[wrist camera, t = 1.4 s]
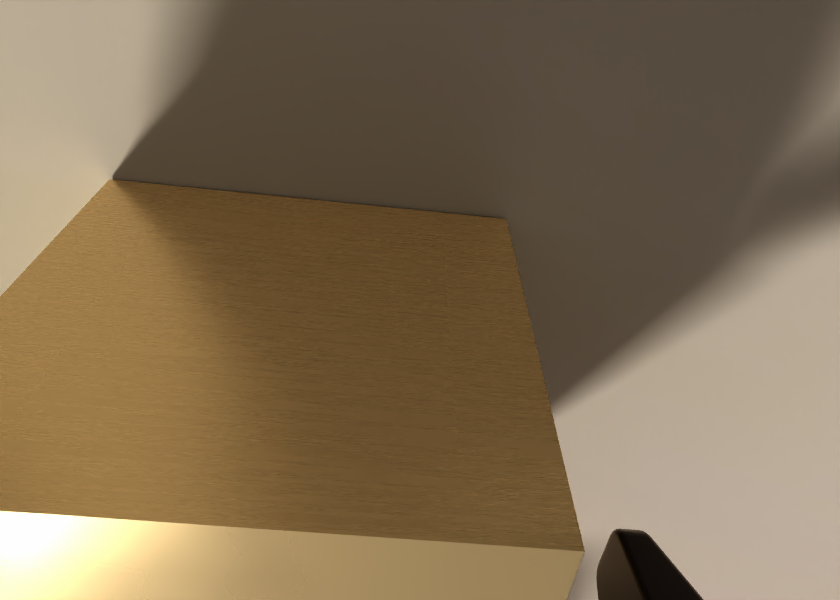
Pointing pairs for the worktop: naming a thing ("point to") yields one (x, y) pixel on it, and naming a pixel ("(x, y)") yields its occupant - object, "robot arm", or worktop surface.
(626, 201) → the worktop surface
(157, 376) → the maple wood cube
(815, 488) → the worktop surface
